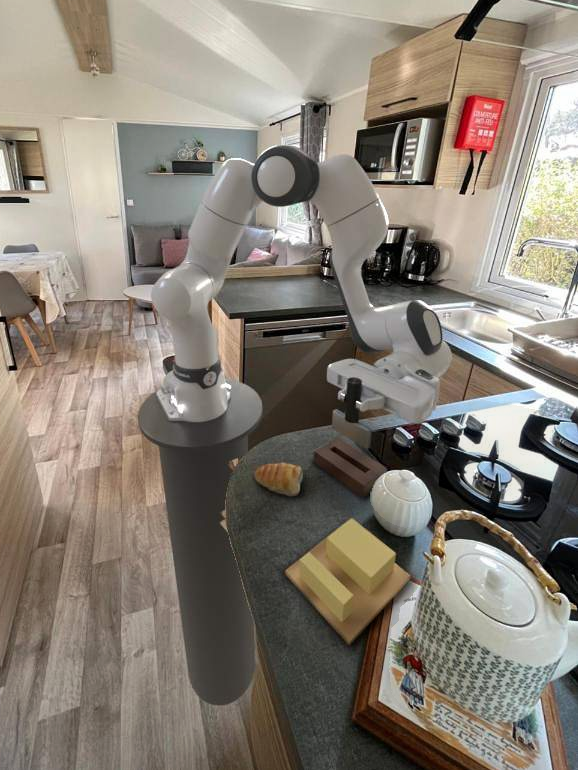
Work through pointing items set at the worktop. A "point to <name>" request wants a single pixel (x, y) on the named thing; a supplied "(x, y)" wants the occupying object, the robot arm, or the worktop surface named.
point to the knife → (352, 416)
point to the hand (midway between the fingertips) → (349, 402)
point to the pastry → (280, 478)
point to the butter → (360, 555)
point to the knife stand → (349, 466)
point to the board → (363, 603)
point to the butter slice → (326, 586)
